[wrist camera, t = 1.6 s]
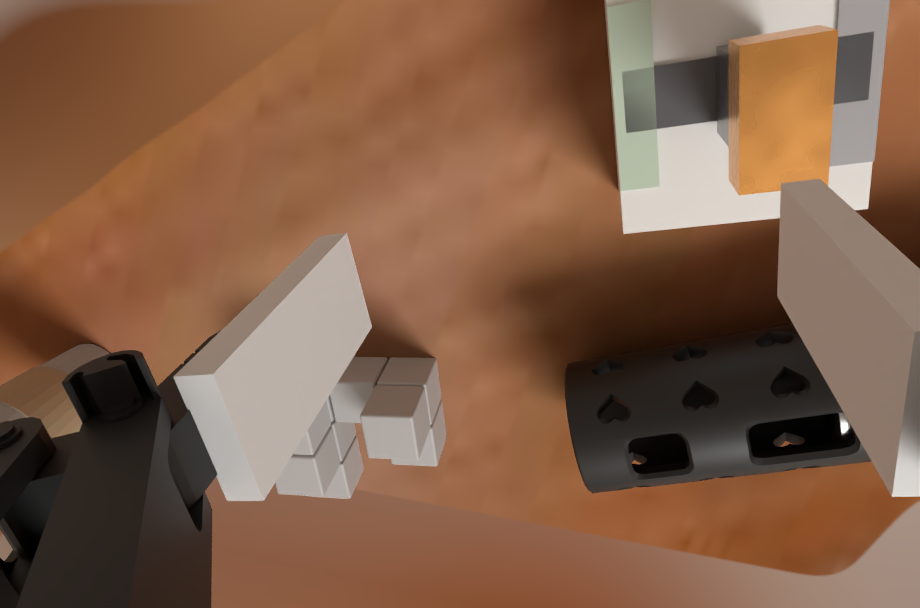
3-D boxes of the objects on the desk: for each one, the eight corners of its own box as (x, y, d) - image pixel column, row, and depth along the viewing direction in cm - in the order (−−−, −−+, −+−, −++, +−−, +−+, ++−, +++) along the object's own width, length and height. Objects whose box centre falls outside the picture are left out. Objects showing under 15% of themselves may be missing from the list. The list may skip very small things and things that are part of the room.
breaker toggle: (782, 16, 29) (838, 29, 22) (778, 140, 31) (828, 185, 25) (706, 29, 30) (739, 45, 23) (708, 149, 32) (738, 195, 25)
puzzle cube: (324, 467, 59) (288, 533, 52) (297, 355, 54) (253, 411, 47) (452, 473, 56) (432, 543, 49) (436, 356, 51) (412, 417, 44)
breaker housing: (835, -96, 33) (900, -115, 26) (819, 167, 39) (869, 210, 32) (600, -47, 36) (602, -53, 29) (618, 190, 42) (623, 235, 35)
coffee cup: (129, 428, 61) (2, 553, 48) (39, 377, 60) (-116, 490, 47) (157, 361, 57) (25, 479, 43) (60, 305, 56) (-104, 407, 43)
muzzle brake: (566, 329, 48) (559, 412, 39) (1013, 243, 39) (1137, 323, 30) (595, 431, 52) (595, 528, 42) (1010, 371, 43) (1120, 477, 34)
